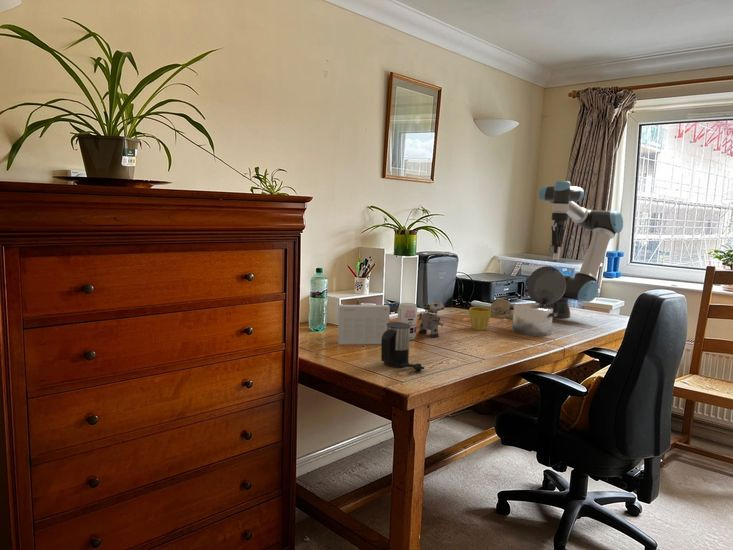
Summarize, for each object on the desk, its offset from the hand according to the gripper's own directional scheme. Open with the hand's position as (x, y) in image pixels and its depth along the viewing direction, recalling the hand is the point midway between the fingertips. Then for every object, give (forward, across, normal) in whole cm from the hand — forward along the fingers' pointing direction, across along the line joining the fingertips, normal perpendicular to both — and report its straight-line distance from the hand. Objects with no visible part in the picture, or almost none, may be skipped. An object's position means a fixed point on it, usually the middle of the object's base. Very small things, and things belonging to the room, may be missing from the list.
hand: (555, 259), depth 280 cm
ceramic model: (+34, -1, -27) cm, 44 cm away
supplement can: (+34, +81, -32) cm, 93 cm away
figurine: (+34, +67, -28) cm, 80 cm away
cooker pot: (+34, +22, 0) cm, 40 cm away
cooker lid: (+12, +10, 0) cm, 16 cm away
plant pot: (+34, +38, -20) cm, 55 cm away
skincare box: (+34, +102, -39) cm, 114 cm away
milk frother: (+34, +117, -7) cm, 122 cm away
